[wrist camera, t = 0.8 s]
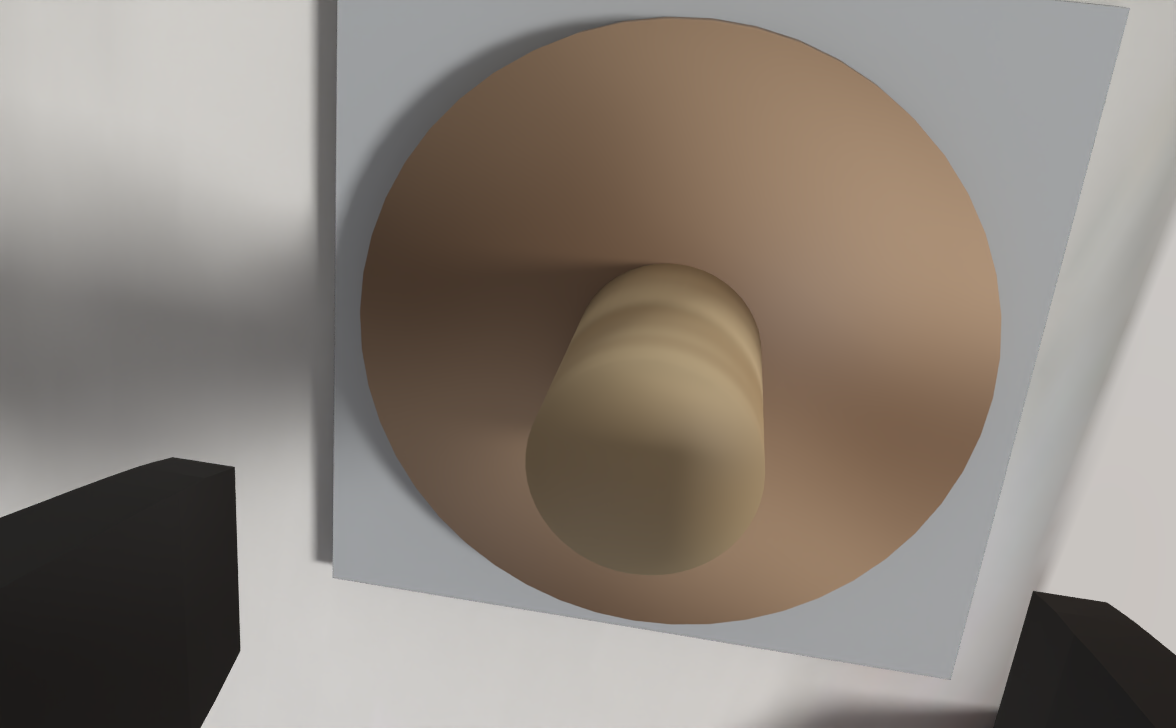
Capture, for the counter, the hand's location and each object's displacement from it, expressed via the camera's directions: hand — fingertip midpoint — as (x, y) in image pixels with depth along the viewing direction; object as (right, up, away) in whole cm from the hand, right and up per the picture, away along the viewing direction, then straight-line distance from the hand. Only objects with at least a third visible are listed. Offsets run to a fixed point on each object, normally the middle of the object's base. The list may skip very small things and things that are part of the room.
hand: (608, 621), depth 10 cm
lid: (+1, +3, +7) cm, 8 cm away
